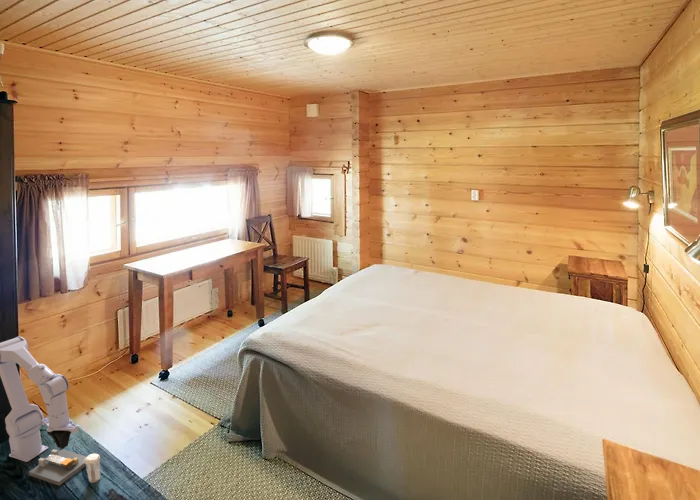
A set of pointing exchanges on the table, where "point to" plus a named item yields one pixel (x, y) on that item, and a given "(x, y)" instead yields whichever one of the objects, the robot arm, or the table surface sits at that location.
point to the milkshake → (93, 467)
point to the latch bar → (59, 460)
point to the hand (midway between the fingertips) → (63, 446)
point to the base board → (58, 468)
